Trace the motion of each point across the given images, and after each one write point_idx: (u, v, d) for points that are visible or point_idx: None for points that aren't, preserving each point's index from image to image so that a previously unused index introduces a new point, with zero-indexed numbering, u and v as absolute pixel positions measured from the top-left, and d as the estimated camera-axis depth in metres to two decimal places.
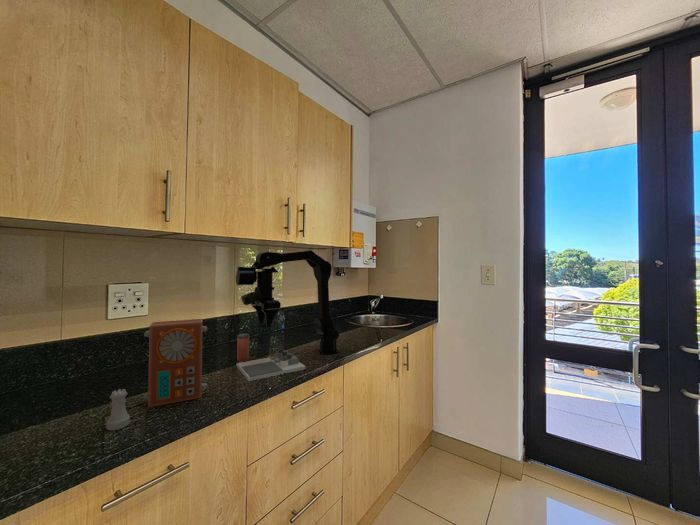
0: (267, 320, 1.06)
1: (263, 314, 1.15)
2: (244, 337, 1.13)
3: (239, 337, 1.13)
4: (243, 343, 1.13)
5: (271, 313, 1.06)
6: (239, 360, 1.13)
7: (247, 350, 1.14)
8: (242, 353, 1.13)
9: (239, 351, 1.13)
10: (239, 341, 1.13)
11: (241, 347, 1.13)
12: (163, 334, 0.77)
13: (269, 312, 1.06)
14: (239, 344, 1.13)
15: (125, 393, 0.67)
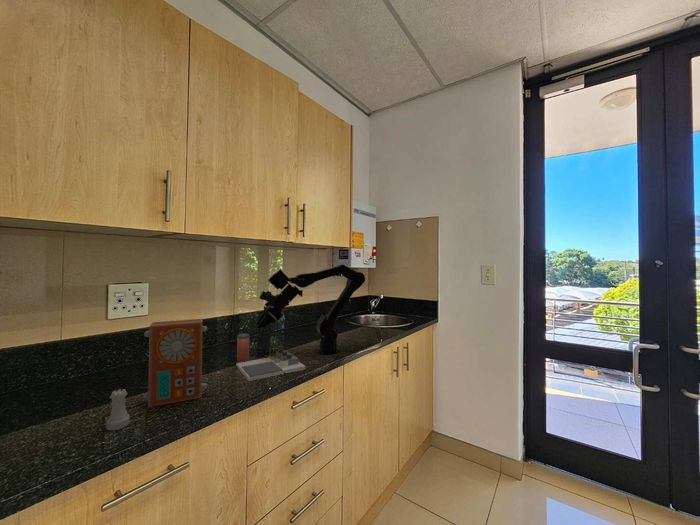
0: (261, 321, 1.12)
1: None
2: (244, 337, 1.13)
3: (239, 337, 1.13)
4: (243, 343, 1.13)
5: (269, 319, 1.13)
6: (239, 360, 1.13)
7: (247, 350, 1.14)
8: (242, 353, 1.13)
9: (239, 351, 1.13)
10: (239, 341, 1.13)
11: (241, 347, 1.13)
12: (163, 334, 0.77)
13: (268, 317, 1.13)
14: (239, 344, 1.13)
15: (125, 393, 0.67)
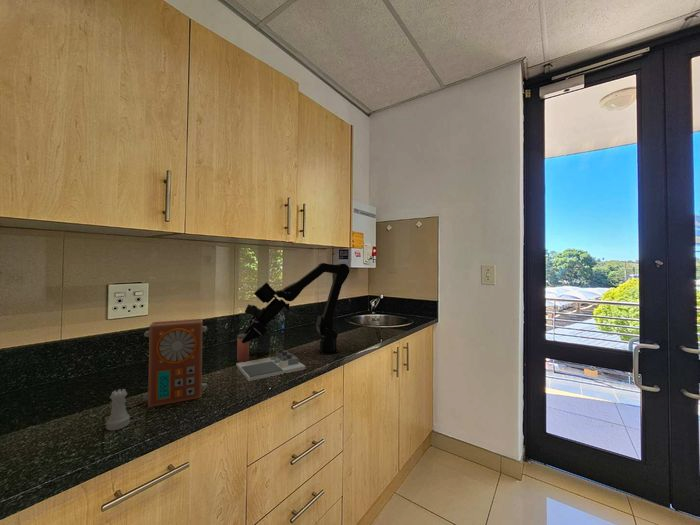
0: (246, 336, 1.10)
1: None
2: None
3: (239, 337, 1.13)
4: (243, 343, 1.13)
5: (253, 334, 1.11)
6: (239, 360, 1.13)
7: (247, 350, 1.14)
8: (242, 353, 1.13)
9: (239, 351, 1.13)
10: (239, 341, 1.13)
11: (241, 347, 1.13)
12: (163, 334, 0.77)
13: (253, 332, 1.11)
14: (239, 344, 1.13)
15: (125, 393, 0.67)
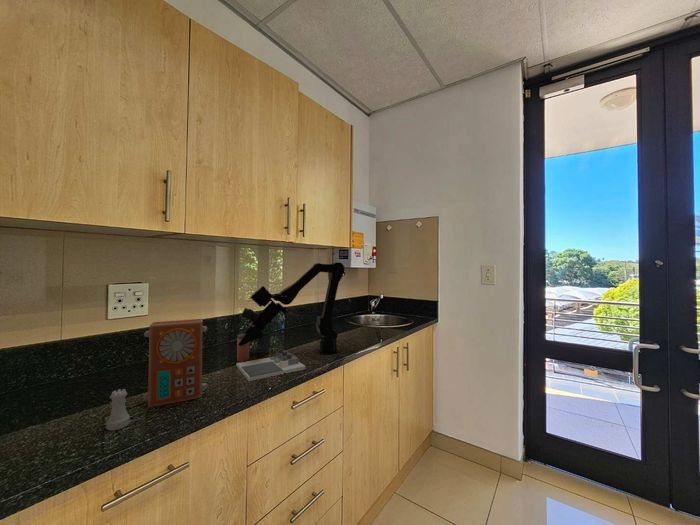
0: (242, 339, 1.12)
1: None
2: None
3: (239, 337, 1.13)
4: None
5: (250, 337, 1.12)
6: (239, 360, 1.13)
7: (247, 350, 1.14)
8: (242, 353, 1.13)
9: (239, 351, 1.13)
10: (239, 341, 1.13)
11: (241, 347, 1.13)
12: (163, 334, 0.77)
13: (250, 334, 1.12)
14: None
15: (125, 393, 0.67)
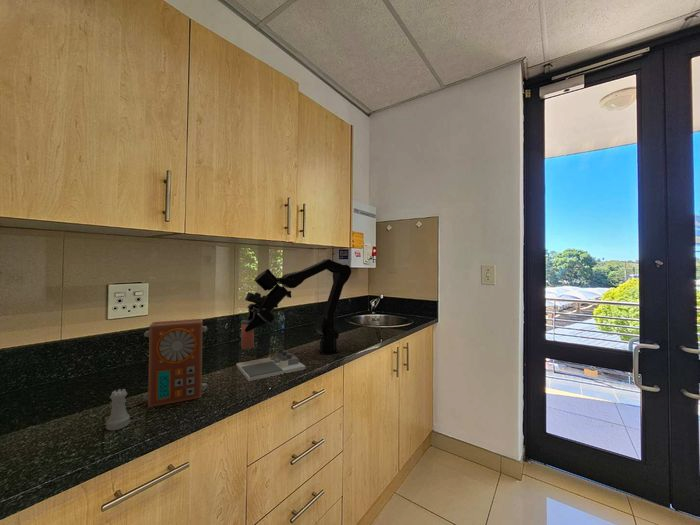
0: (249, 324, 1.06)
1: None
2: None
3: (244, 323, 1.06)
4: None
5: (257, 322, 1.07)
6: (245, 347, 1.06)
7: (253, 336, 1.08)
8: (248, 340, 1.06)
9: (245, 338, 1.06)
10: (245, 326, 1.06)
11: (247, 333, 1.06)
12: (163, 334, 0.77)
13: (257, 319, 1.07)
14: None
15: (125, 393, 0.67)
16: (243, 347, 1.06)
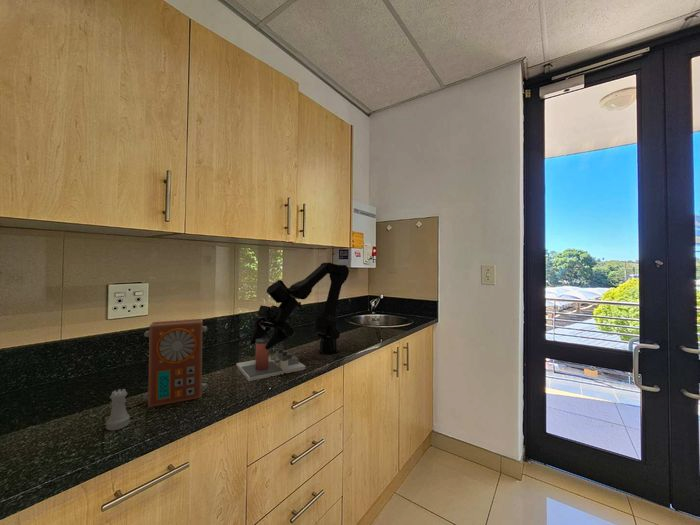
0: (271, 341, 0.98)
1: (259, 337, 1.05)
2: (267, 341, 1.00)
3: (261, 342, 0.99)
4: None
5: (278, 337, 0.99)
6: (261, 368, 0.99)
7: (268, 356, 1.01)
8: (264, 360, 0.99)
9: (261, 358, 0.99)
10: (261, 346, 0.99)
11: (264, 353, 0.99)
12: (163, 334, 0.77)
13: (278, 335, 0.99)
14: (261, 350, 0.99)
15: (125, 393, 0.67)
16: (259, 368, 0.99)
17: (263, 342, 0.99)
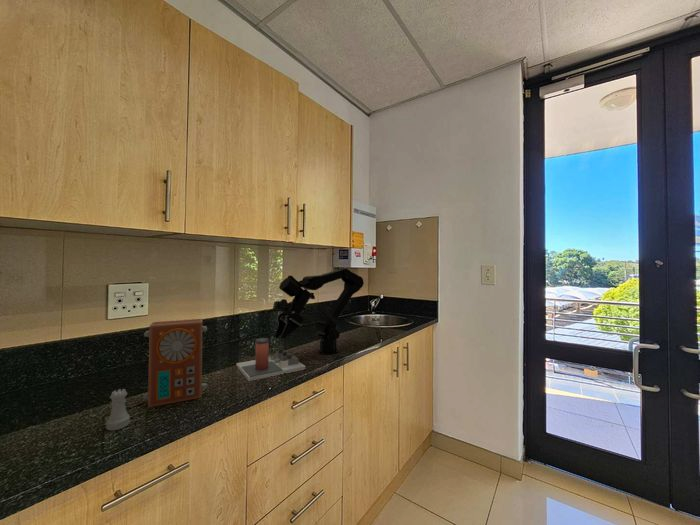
0: (284, 331, 1.06)
1: (282, 331, 1.16)
2: (266, 341, 1.00)
3: (261, 342, 0.99)
4: (265, 348, 1.00)
5: (291, 327, 1.07)
6: (261, 368, 0.99)
7: (268, 356, 1.01)
8: (264, 360, 0.99)
9: (261, 358, 0.99)
10: (261, 346, 0.99)
11: (264, 353, 0.99)
12: (163, 334, 0.77)
13: (290, 325, 1.07)
14: (261, 350, 0.99)
15: (125, 393, 0.67)
16: (259, 368, 0.99)
17: (263, 342, 0.99)
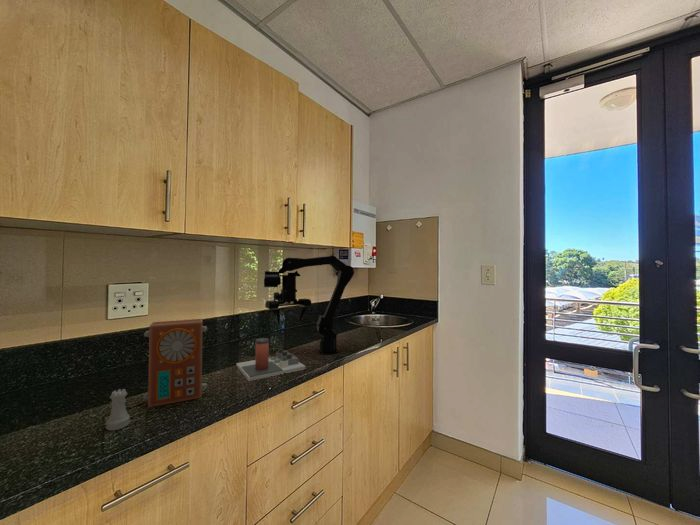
0: (275, 318, 1.20)
1: (300, 315, 1.24)
2: (266, 341, 1.00)
3: (261, 342, 0.99)
4: (265, 348, 1.00)
5: (276, 312, 1.19)
6: (261, 368, 0.99)
7: (268, 356, 1.01)
8: (264, 360, 0.99)
9: (261, 358, 0.99)
10: (261, 346, 0.99)
11: (264, 353, 0.99)
12: (163, 334, 0.77)
13: (275, 311, 1.19)
14: (261, 350, 0.99)
15: (125, 393, 0.67)
16: (259, 368, 0.99)
17: (263, 342, 0.99)
